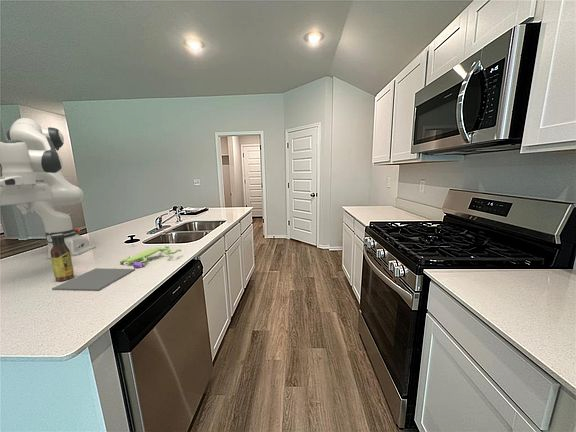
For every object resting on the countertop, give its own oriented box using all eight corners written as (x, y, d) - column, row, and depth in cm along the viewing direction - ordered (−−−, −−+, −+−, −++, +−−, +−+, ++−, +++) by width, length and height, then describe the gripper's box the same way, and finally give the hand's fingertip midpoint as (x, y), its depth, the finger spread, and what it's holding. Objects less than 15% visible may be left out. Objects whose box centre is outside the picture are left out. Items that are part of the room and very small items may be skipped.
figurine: (184, 258, 129) (183, 248, 128) (125, 273, 111) (123, 261, 110) (173, 250, 142) (172, 241, 141) (118, 262, 124) (117, 252, 123)
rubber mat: (95, 269, 115) (95, 268, 115) (135, 270, 113) (135, 268, 113) (52, 289, 95) (51, 288, 95) (98, 290, 94) (98, 289, 94)
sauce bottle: (69, 280, 103) (60, 235, 100) (51, 282, 102) (42, 237, 98) (78, 274, 110) (69, 232, 106) (61, 276, 108) (52, 233, 104)
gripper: (40, 179, 109) (47, 209, 112) (-20, 181, 89) (-11, 218, 92) (53, 179, 109) (59, 209, 111) (-5, 181, 89) (4, 218, 91)
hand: (27, 213), depth 101 cm, fingers closed
